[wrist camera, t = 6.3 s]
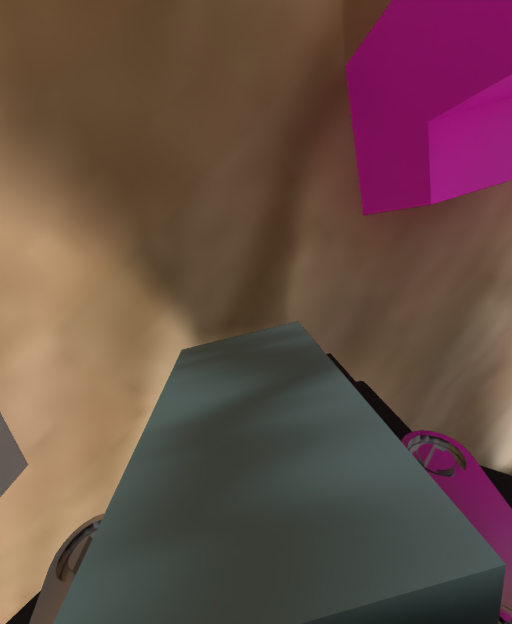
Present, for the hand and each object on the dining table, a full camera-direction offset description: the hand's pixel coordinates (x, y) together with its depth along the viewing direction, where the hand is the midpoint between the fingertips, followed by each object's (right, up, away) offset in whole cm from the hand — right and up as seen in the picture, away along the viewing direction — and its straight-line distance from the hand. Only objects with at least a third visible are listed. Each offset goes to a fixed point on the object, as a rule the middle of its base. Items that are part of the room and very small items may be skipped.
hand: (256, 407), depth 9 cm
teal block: (0, 0, +1) cm, 2 cm away
